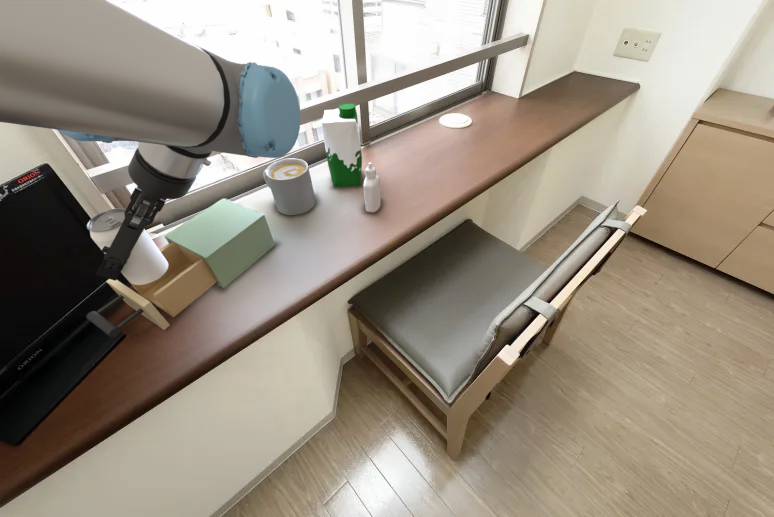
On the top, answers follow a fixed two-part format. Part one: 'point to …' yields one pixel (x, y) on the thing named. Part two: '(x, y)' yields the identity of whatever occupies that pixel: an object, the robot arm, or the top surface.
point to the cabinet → (225, 238)
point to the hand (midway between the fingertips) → (115, 260)
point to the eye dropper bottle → (372, 189)
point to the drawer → (161, 290)
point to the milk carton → (343, 145)
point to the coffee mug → (290, 186)
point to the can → (144, 256)
